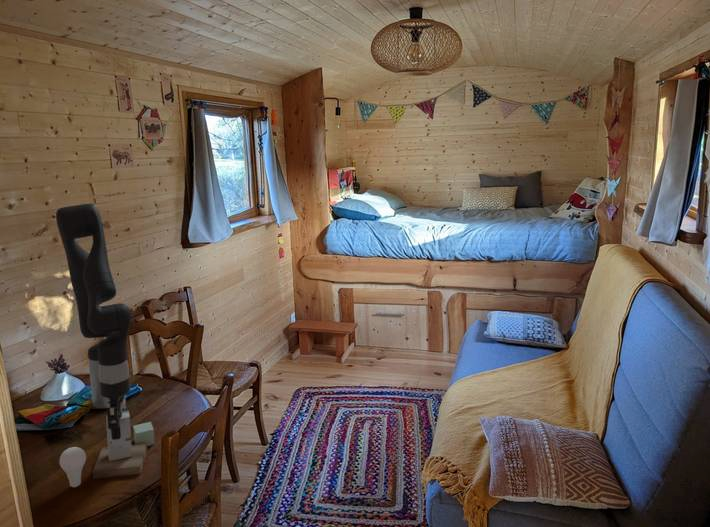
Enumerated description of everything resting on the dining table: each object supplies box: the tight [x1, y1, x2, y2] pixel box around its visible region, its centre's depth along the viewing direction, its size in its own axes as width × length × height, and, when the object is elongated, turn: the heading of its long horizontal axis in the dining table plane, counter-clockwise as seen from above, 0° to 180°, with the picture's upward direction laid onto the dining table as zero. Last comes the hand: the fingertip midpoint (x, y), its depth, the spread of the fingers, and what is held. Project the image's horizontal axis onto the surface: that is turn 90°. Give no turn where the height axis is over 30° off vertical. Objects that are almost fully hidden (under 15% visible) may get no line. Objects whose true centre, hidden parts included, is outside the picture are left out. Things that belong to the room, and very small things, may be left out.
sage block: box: [132, 421, 155, 447], centre depth 161 cm, size 5×5×5 cm
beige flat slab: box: [92, 443, 148, 480], centre depth 151 cm, size 12×12×3 cm
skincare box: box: [105, 410, 132, 461], centre depth 149 cm, size 6×4×12 cm
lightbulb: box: [59, 446, 87, 488], centre depth 139 cm, size 6×6×11 cm
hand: (118, 431), depth 148 cm, fingers open, 7 cm apart
